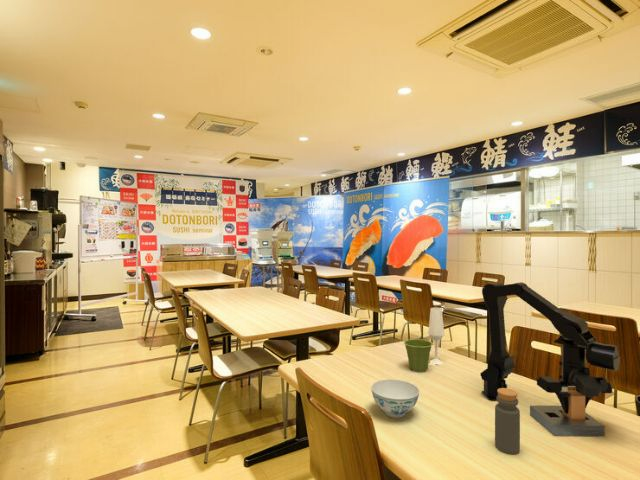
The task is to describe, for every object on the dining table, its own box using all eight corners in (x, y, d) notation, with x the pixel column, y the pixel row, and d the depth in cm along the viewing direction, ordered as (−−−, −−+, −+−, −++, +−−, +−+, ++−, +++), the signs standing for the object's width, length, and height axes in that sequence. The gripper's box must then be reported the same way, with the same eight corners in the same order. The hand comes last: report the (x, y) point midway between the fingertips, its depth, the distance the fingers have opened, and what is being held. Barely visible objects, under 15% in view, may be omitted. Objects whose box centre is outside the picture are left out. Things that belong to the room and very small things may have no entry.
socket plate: (554, 435, 101) (554, 425, 101) (529, 414, 113) (529, 405, 113) (604, 436, 101) (604, 425, 101) (575, 415, 113) (575, 405, 113)
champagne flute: (444, 366, 156) (444, 310, 156) (427, 364, 158) (428, 309, 158) (444, 361, 162) (444, 307, 162) (428, 359, 165) (428, 307, 164)
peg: (571, 423, 105) (571, 396, 105) (562, 416, 109) (562, 390, 109) (585, 423, 105) (585, 396, 105) (575, 416, 109) (575, 390, 109)
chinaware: (420, 405, 119) (420, 382, 119) (417, 428, 105) (417, 402, 105) (375, 399, 124) (375, 376, 124) (366, 420, 110) (366, 394, 110)
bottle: (490, 442, 98) (490, 387, 98) (511, 441, 99) (511, 386, 98) (503, 455, 92) (503, 396, 92) (524, 454, 93) (524, 395, 93)
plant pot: (410, 362, 161) (410, 337, 161) (436, 368, 154) (436, 341, 154) (399, 370, 151) (399, 343, 151) (427, 376, 144) (427, 348, 144)
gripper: (559, 370, 99) (559, 427, 99) (628, 371, 99) (628, 428, 99) (535, 357, 110) (535, 408, 110) (597, 357, 110) (597, 408, 110)
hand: (573, 413), depth 107 cm, fingers closed on peg, 4 cm apart
